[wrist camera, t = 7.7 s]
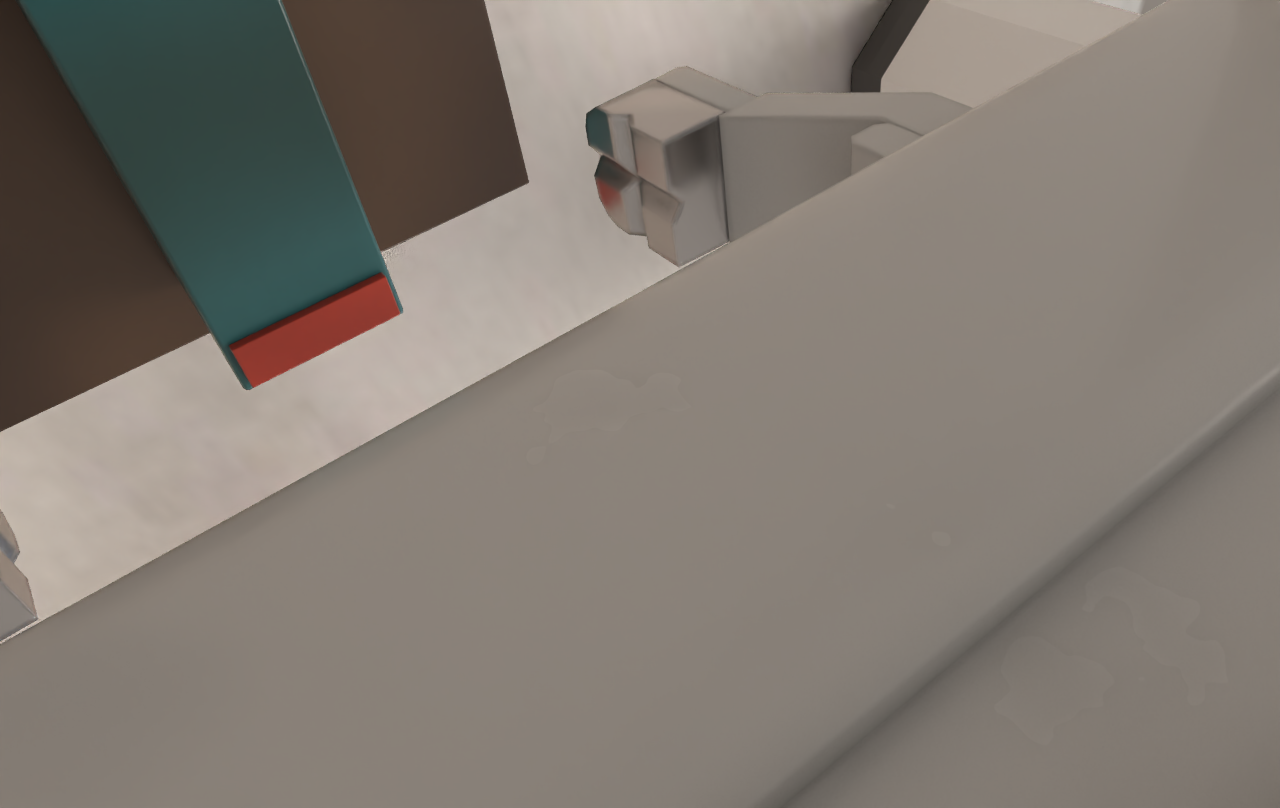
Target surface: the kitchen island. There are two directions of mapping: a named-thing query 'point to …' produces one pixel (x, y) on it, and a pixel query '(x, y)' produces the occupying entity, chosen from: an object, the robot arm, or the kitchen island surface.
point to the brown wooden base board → (119, 238)
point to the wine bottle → (976, 44)
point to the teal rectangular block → (227, 168)
